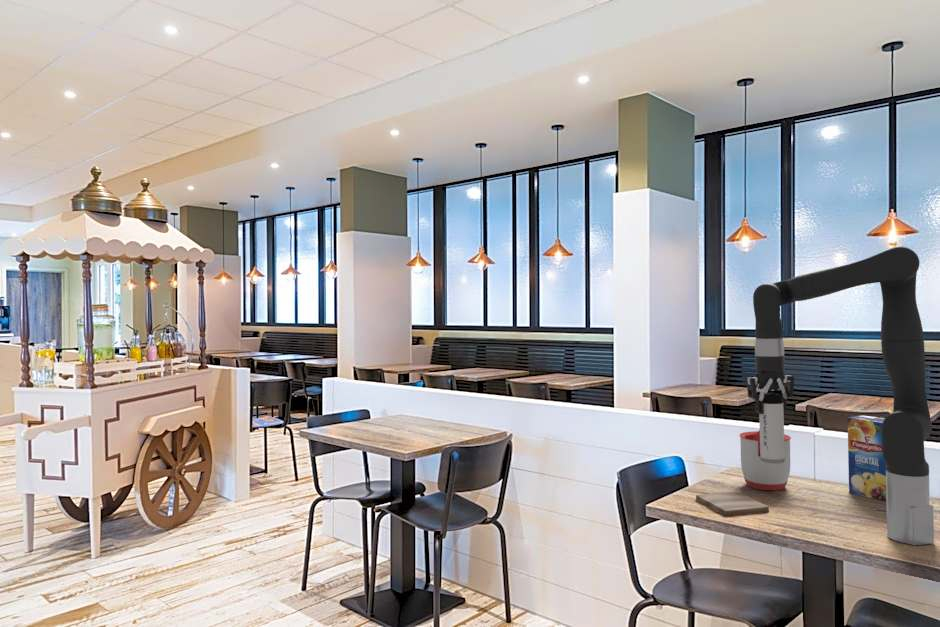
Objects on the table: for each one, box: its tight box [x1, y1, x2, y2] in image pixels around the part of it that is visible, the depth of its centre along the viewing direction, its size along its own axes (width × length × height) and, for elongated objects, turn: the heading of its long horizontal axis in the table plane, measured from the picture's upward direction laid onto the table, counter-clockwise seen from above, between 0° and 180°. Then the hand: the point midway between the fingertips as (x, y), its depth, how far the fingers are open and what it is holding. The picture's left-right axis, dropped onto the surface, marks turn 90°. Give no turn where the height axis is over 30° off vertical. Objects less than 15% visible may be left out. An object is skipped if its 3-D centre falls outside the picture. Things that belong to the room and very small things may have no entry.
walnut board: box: [695, 490, 770, 517], centre depth 196 cm, size 16×14×2 cm
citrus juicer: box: [739, 429, 792, 491], centre depth 214 cm, size 16×17×20 cm
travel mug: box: [758, 390, 785, 464], centre depth 182 cm, size 6×7×20 cm
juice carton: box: [847, 414, 886, 503], centre depth 202 cm, size 12×8×24 cm, turn 26°
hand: (771, 412), depth 182 cm, fingers closed on travel mug, 6 cm apart
